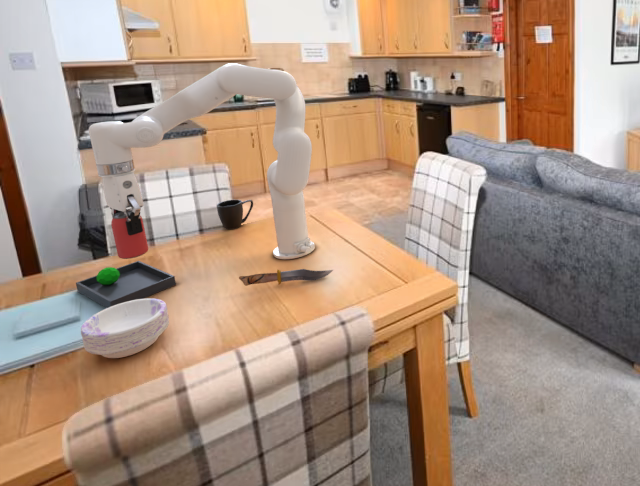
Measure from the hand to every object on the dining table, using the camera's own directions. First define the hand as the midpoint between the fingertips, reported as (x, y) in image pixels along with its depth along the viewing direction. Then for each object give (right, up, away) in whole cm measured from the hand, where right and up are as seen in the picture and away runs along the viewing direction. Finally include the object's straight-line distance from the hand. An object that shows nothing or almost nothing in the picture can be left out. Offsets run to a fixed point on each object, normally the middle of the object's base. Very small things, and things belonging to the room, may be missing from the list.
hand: (129, 230), depth 126 cm
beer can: (0, -7, +2) cm, 7 cm away
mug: (0, -8, +51) cm, 52 cm away
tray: (-5, -18, +6) cm, 19 cm away
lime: (-11, -17, +7) cm, 22 cm away
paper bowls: (+17, -23, -19) cm, 35 cm away
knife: (+41, -17, +7) cm, 45 cm away
